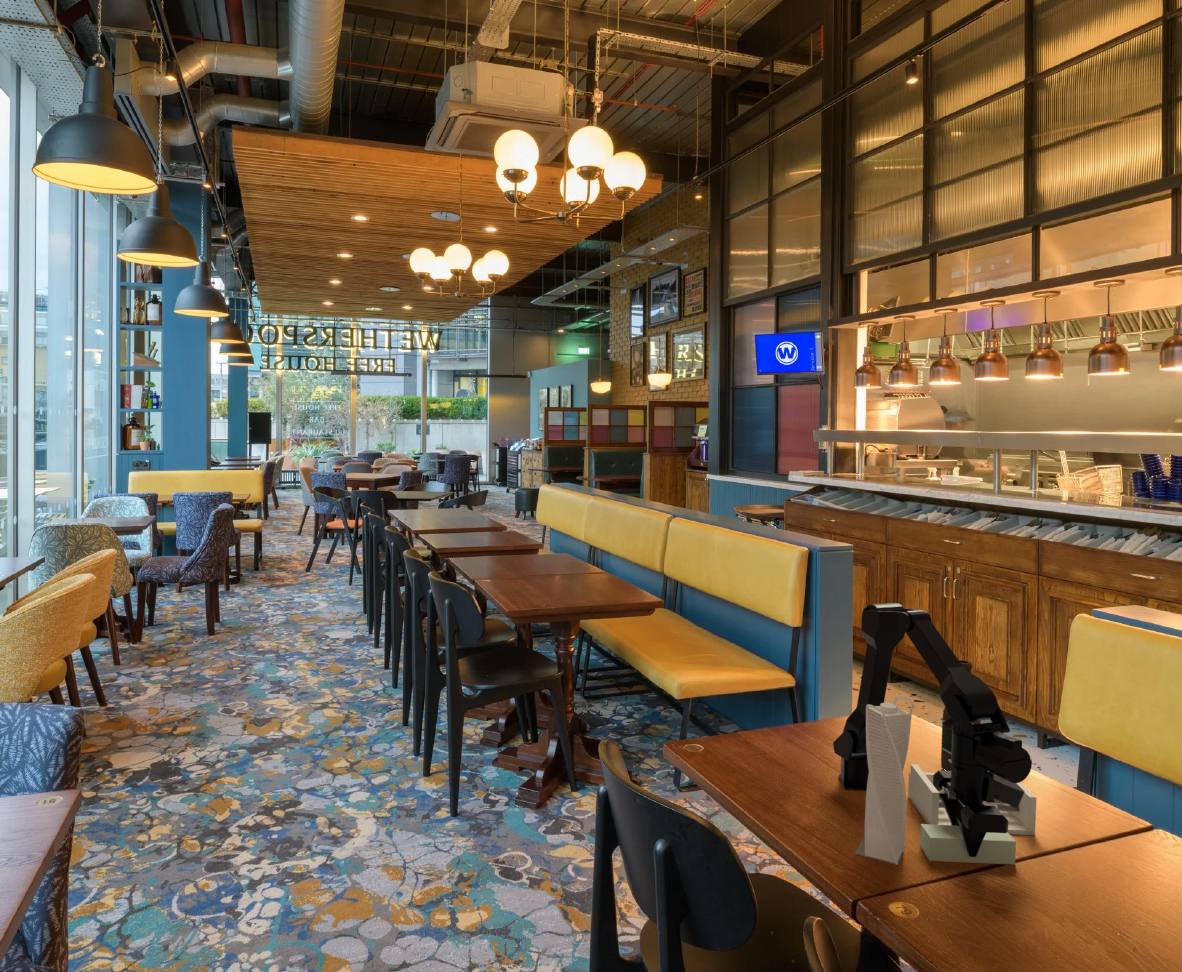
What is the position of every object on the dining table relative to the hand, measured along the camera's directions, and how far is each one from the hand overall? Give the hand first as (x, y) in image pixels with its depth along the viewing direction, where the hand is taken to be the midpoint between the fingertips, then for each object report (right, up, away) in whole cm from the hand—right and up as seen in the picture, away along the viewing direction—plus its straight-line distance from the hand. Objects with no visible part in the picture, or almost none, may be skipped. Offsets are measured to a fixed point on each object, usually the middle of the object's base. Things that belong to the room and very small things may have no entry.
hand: (966, 848), depth 140 cm
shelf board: (0, -1, 0) cm, 1 cm away
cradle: (+7, 0, +14) cm, 16 cm away
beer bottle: (+16, 0, +37) cm, 40 cm away
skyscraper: (-14, -2, 0) cm, 14 cm away
